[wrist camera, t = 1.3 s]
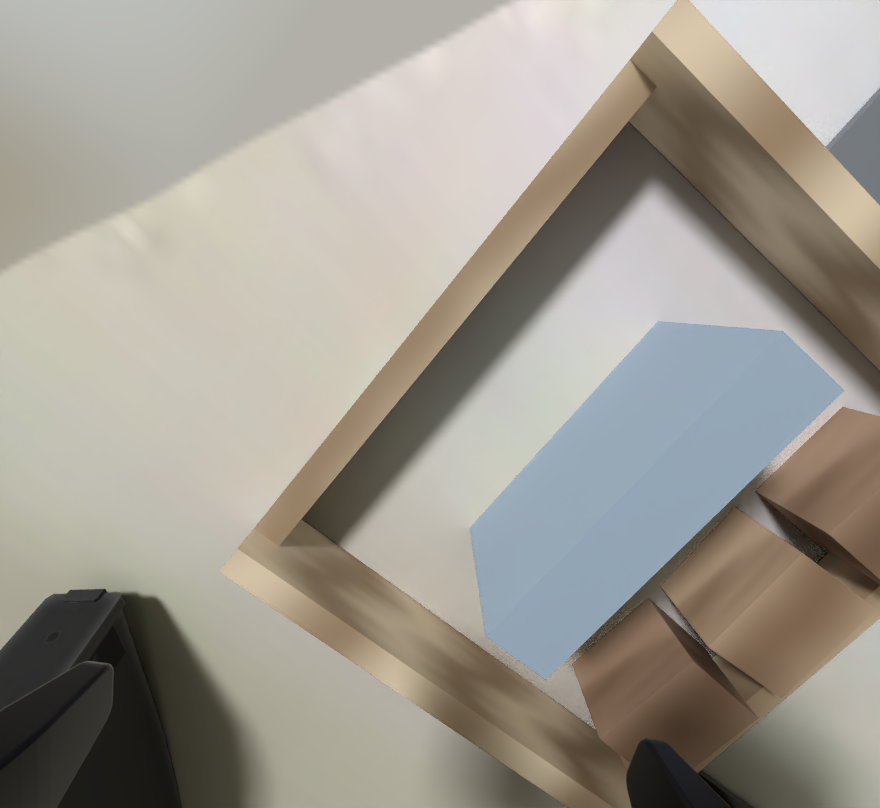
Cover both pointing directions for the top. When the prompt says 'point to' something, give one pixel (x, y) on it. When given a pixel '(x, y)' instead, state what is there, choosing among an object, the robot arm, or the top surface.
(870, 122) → the mat
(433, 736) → the top surface
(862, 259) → the frame
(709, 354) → the light blue rectangular panel
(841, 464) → the offcut
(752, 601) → the offcut
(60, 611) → the magazine
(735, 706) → the offcut
